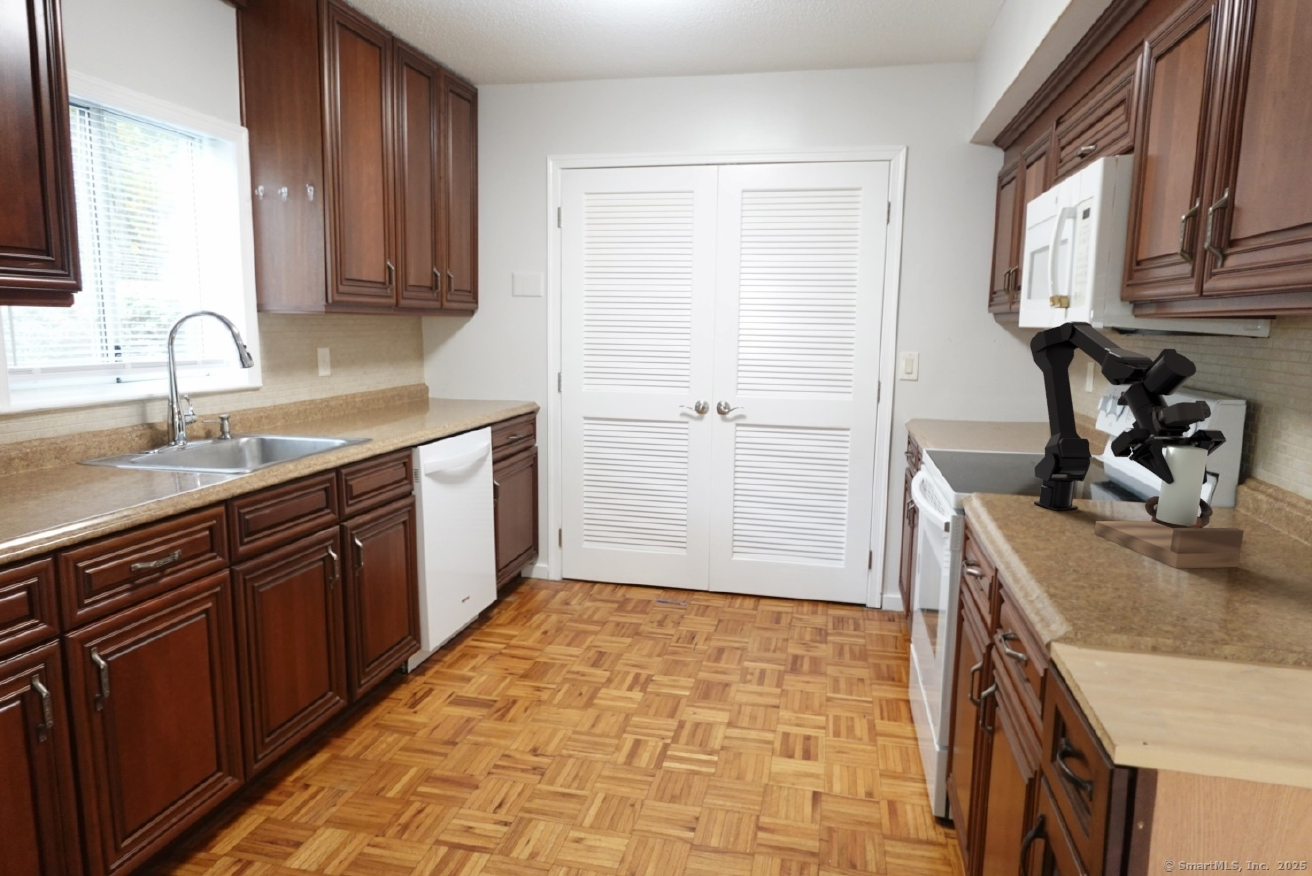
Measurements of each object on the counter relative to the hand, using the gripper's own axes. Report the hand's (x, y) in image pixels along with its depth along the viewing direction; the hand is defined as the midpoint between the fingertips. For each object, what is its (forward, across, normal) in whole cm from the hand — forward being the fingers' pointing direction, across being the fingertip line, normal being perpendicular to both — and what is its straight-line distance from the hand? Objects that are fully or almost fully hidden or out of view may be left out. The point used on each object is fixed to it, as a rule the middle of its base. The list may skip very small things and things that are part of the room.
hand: (1188, 483), depth 138 cm
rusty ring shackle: (-4, +16, +24) cm, 29 cm away
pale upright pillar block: (+4, 0, +6) cm, 7 cm away
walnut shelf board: (+6, +1, +12) cm, 14 cm away
